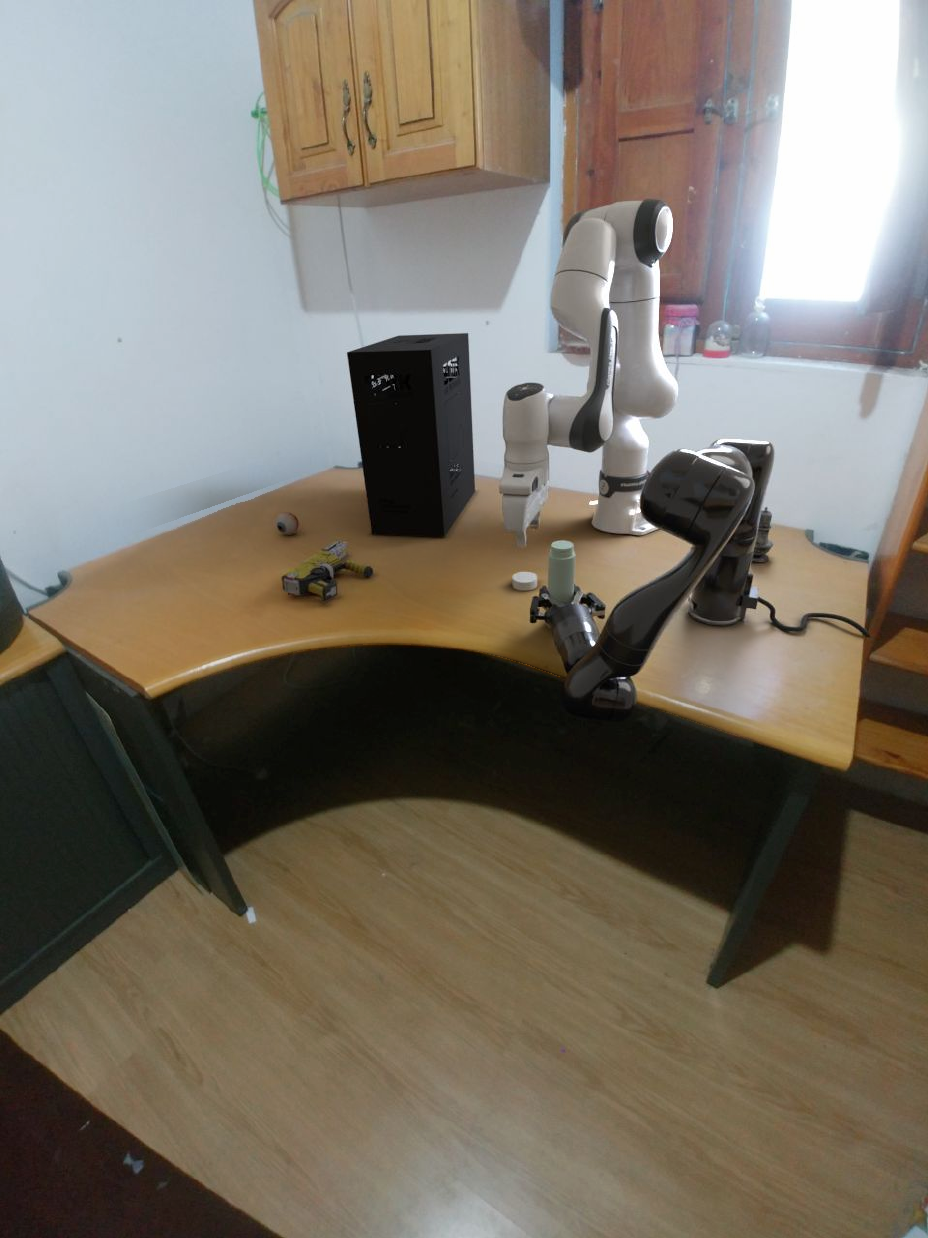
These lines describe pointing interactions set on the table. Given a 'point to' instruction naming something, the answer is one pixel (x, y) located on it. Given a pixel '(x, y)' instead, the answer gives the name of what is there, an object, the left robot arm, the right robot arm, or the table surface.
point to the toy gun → (321, 572)
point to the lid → (524, 581)
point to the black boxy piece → (414, 431)
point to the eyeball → (287, 523)
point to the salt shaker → (763, 537)
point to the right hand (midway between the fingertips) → (558, 589)
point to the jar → (561, 571)
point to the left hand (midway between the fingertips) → (528, 536)
